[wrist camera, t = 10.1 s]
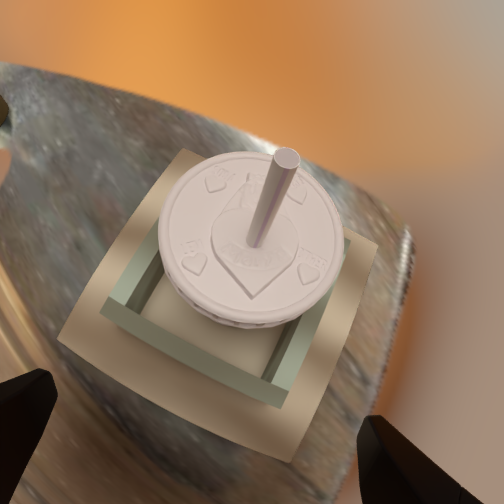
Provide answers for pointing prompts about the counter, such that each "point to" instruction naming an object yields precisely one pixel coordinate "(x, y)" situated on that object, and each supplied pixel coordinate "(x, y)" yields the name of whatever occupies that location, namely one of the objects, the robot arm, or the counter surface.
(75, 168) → the counter surface
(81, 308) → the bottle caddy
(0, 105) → the cork
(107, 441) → the counter surface
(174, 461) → the counter surface
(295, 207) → the smoothie
